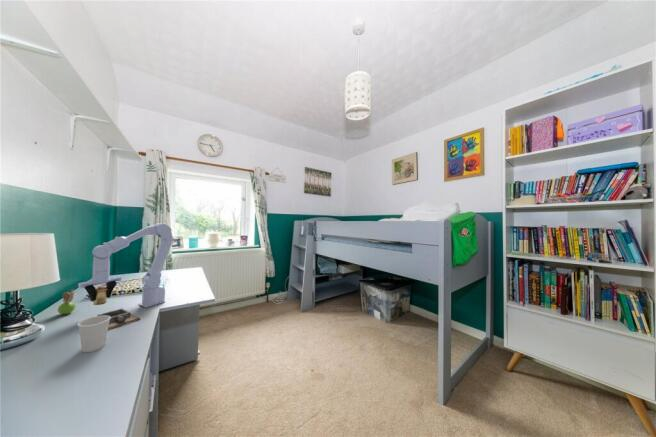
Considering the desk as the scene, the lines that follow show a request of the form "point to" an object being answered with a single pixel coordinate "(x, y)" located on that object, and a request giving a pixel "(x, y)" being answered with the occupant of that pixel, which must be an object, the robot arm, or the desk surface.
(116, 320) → the board
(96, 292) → the cylinder
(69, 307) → the snail figurine
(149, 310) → the desk surface
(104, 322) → the dixie cup
